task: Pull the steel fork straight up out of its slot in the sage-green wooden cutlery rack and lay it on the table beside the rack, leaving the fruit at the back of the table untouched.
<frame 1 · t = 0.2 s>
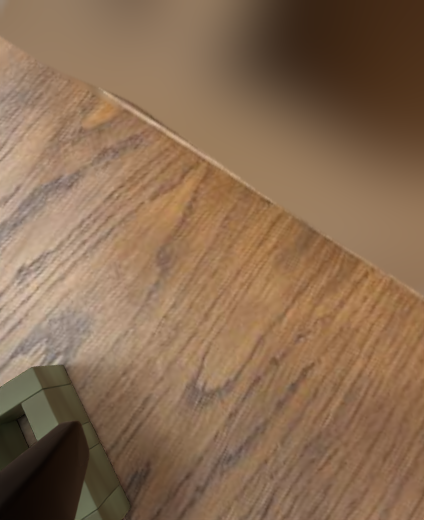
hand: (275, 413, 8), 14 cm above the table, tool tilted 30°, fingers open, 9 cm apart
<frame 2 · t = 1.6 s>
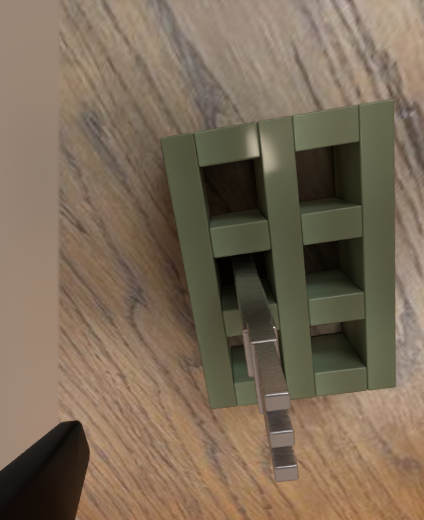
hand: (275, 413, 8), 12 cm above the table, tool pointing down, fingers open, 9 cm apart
rack: (277, 254, 19), on the table
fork: (241, 259, 19), resting in rack
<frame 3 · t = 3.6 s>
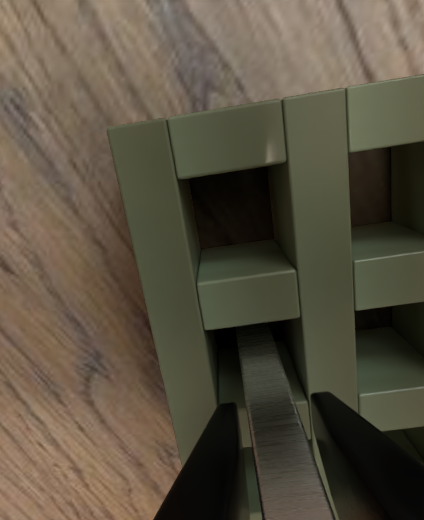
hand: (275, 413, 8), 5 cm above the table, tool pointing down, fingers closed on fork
rack: (300, 305, 13), on the table
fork: (246, 312, 13), resting in rack, touching gripper
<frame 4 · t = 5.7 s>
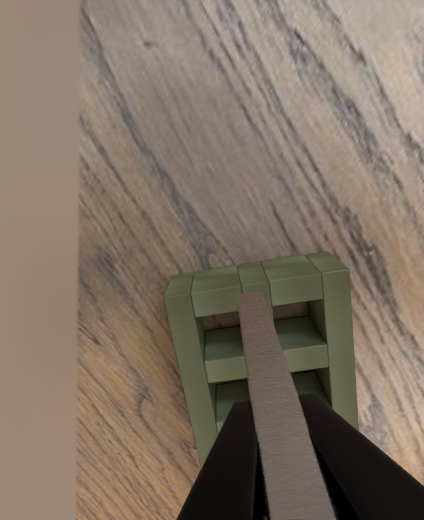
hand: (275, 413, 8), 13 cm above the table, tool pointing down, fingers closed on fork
rack: (262, 360, 22), on the table
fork: (251, 311, 13), point 8 cm above the table, touching gripper
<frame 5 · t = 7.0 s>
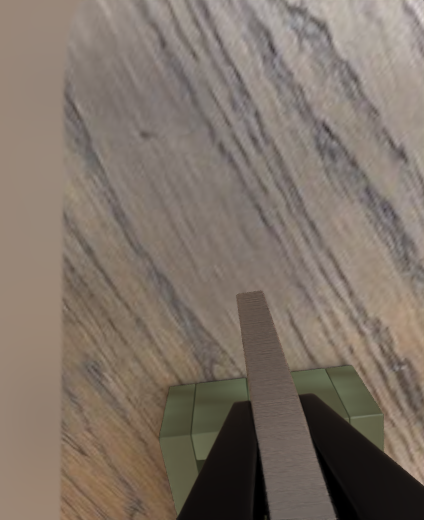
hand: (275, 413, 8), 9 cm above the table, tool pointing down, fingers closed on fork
rack: (272, 476, 20), on the table
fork: (251, 310, 13), point 3 cm above the table, touching gripper
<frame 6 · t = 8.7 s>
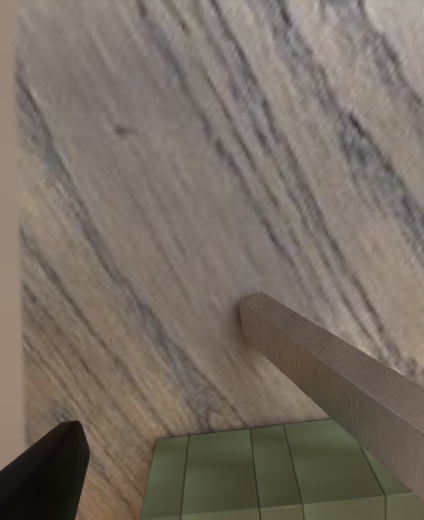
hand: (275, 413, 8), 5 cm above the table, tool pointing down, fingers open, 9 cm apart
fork: (251, 314, 13), on the table, tilted 23°, touching gripper
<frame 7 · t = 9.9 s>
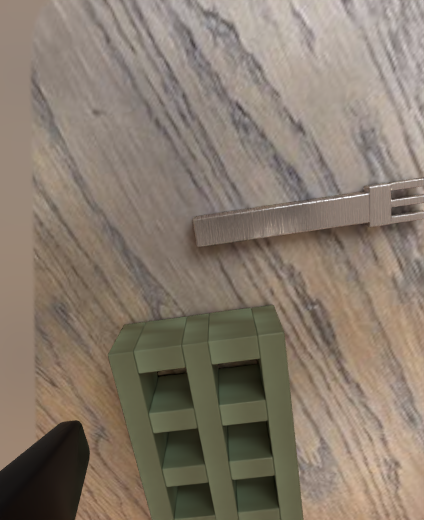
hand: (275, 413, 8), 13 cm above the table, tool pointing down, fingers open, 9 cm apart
rack: (213, 404, 23), on the table
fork: (195, 231, 19), point 1 cm above the table, tilted 90°
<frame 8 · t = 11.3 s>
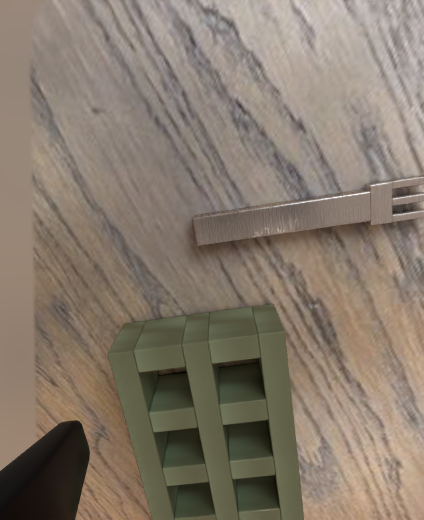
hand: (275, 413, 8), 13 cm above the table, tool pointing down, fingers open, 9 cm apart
rack: (214, 403, 23), on the table
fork: (195, 230, 19), point 1 cm above the table, tilted 90°
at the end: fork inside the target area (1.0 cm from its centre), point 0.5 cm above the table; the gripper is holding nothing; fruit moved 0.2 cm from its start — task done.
